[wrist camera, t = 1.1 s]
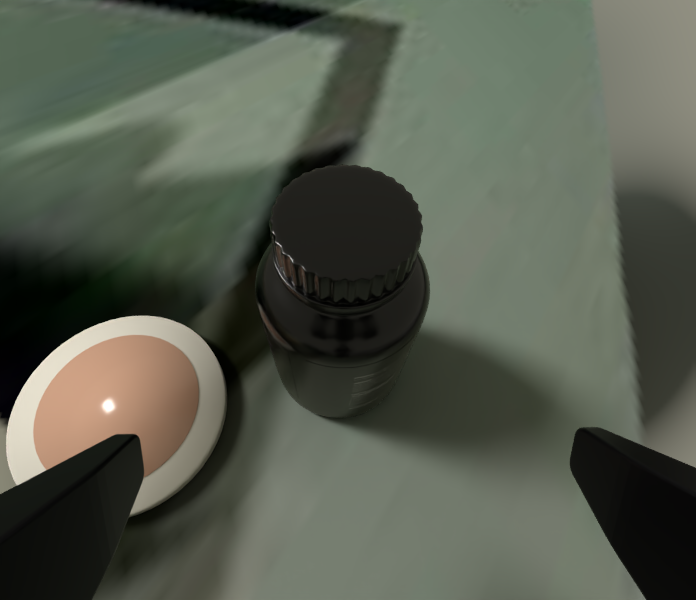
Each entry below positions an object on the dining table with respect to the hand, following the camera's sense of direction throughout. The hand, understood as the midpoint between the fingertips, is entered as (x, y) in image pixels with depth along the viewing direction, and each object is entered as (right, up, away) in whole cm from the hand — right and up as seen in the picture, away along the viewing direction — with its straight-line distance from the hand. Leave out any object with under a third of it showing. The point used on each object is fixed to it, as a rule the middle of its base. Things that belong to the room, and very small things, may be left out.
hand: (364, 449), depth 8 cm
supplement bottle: (-1, 0, +15) cm, 15 cm away
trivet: (-12, -3, +12) cm, 17 cm away
